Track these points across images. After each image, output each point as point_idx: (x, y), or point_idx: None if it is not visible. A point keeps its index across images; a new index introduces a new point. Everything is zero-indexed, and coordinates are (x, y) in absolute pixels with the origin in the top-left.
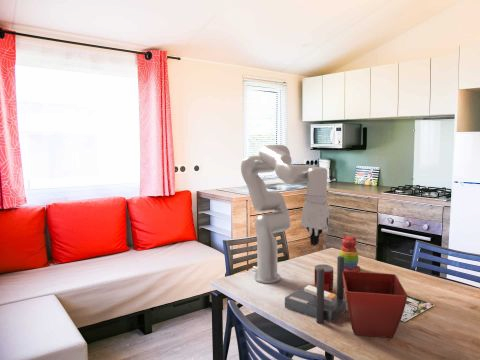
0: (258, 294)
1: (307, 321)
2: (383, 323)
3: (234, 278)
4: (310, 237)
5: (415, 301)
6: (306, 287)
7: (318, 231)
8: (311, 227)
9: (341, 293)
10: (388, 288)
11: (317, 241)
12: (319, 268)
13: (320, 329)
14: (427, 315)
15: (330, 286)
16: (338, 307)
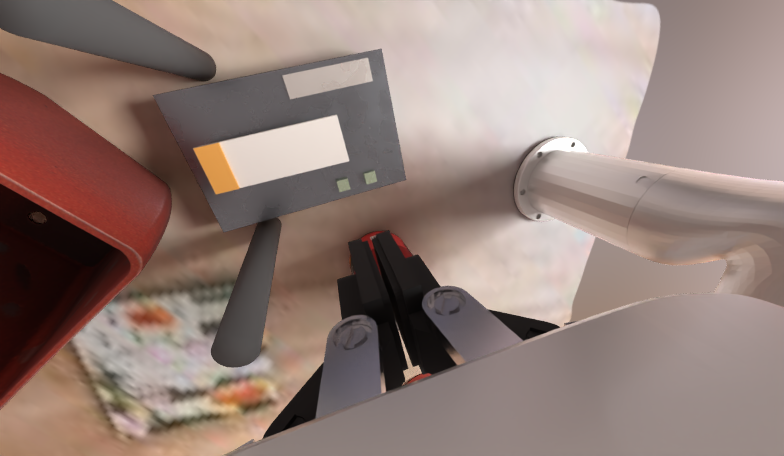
0: (502, 62)
1: (232, 29)
2: None
3: (626, 93)
4: (431, 276)
5: (168, 414)
6: (335, 129)
7: (326, 408)
8: (444, 374)
9: (251, 240)
10: (25, 367)
11: (340, 294)
12: (52, 9)
13: (144, 13)
14: (65, 387)
15: (352, 269)
16: (189, 163)
